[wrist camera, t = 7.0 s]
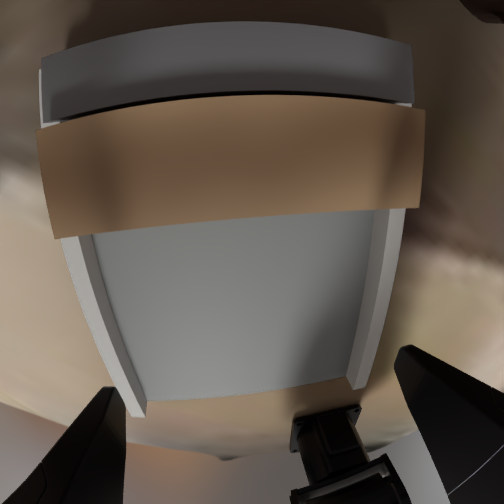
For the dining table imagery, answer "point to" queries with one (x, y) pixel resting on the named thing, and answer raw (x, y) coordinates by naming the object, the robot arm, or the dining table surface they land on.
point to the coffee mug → (486, 10)
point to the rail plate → (232, 223)
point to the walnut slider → (229, 161)
